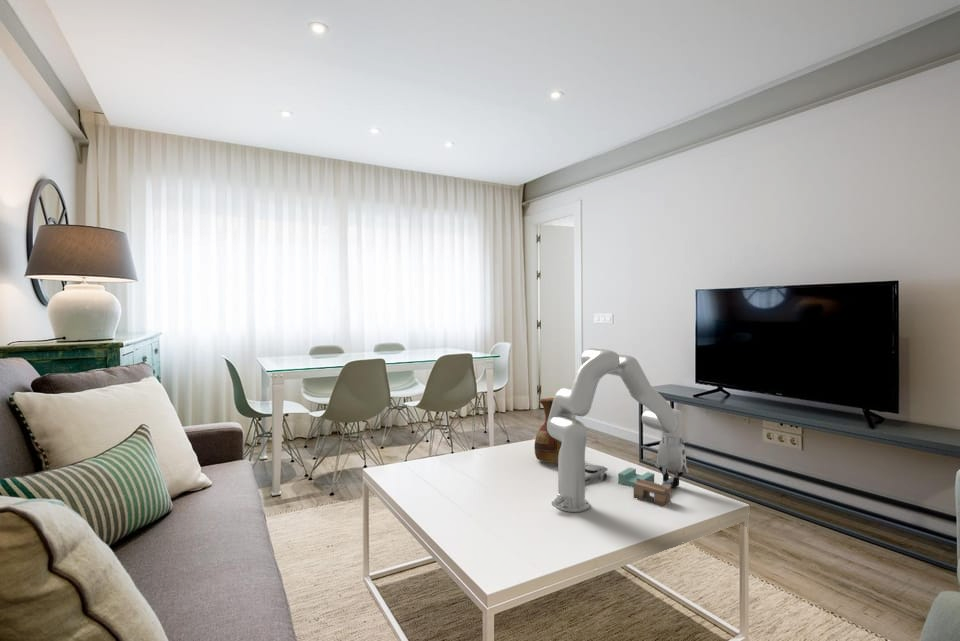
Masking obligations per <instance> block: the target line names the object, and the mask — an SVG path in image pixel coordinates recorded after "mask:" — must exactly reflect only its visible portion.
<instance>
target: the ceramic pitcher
mask: <svg viewBox="0 0 960 641" xmlns="http://www.w3.org/2000/svg"><path fill="white" fill-rule="evenodd" d="M553 400H554V397H547V398H540V399H539V400H538V402H539V403H540V404H541V405H542V408H543V411H544V415H545V416H544V423H542V425H541V426H540V427H539V429H538V431H537V433H536V436H535V440H534V455H535V458H536V459H537V460H539V461H540V462H544V463H551V464H558V455H559V450H560V448H561V444H562V442H561V441H559V440H557V439H555V438H553V437H551V436H550V435H549V433H548V431H547V421H548V417H549V414H550V410H551V407H552V403H553Z"/></svg>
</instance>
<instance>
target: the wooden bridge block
mask: <svg viewBox="0 0 960 641" xmlns="http://www.w3.org/2000/svg"><path fill="white" fill-rule="evenodd" d="M671 490H672V487H668V486H665V485H661V483H658V482H657V483H656V482H654V483H653V482H649V481H645V480H639V481H637V482H635V483H634V487H633V499H636V498H637V500H639V499H640V500H639V501H645V500H646V499H648V498H649V497H650V496H651V494H650V493H652V494H653V499H654V500H653V504H654V505H657V506H661V507H663V506H664V507H666V506H667V505H668V504H670V503H671V499H672V498H671V497H672V496H671V495H672V494H671V493H672V492H671ZM669 502H670V503H669ZM665 505H666V506H665Z"/></svg>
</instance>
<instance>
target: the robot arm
mask: <svg viewBox="0 0 960 641" xmlns="http://www.w3.org/2000/svg"><path fill="white" fill-rule="evenodd" d="M580 361H581V364H582V365H581V366H580V367H579V368H578V369H577V371H576V373H575V376H574V379H573V381H572V382H573V383H572V385H571V386H563V387H561V388H560V389H559V390H558V391H557V392H556V393H555V395H554V397H553V398H554V400H553V403H552V407H551V410H550V414H549V417H548V421H547V431H548V433H549V435H550V436H551V437H553V438H555V439H557V440H559V441H561V442H562V444H561V448H560V450H559V455H558V463H557V464H558V466H557V467H558V473H557V474H558V476H557V479H558V480H557V482H558V483H557V484H558V485H557V486H558V490H557V492H558V493H557V495H556V496H557V497H555V499H554V500H553V501H552V502H551V505H552V507H554V508H555V507H556V508H557V509H559V510H560V511H563V512H569V513H570V512H571V513H580V512H584V511H585V512H586V511H587V510H588V509H589V508H590V502H589V500H588V499H586V485H585V466H586V448H587V447H586V446H587V441H588V436H589V434H588V429H587V427H586V425H585V424H584V423H583V422H581V421H580V420H578V419H576V418H573V417H572V416H576V417H585V416H587V415H588V414H589V413H590V411H591V408H592V405H593V402H594V398H595V395H596V392H597V387H598V384H599V383H600V381H601V379H602V378H603V377H604V376H606V375H611V376H616V377H617V376H618V377H619V378H620V379H621V380H622V382H623V384H624V385H625V387H626V390H627V391H628V393H629V394H630V397H631V398H633V399H634V400H635V401H636V402H638V403H639V404H641V405H643V406H645V408H647V409H646V410H645V411H643V413H642V415H641V423H642V424H643V425H644V426H645V427H648V428H649V429H652V430H654V431H655V430H657V431H660V432H661V441H659V446H658V450H657V457H656V458H657V459H656V462H655V463H654V466H655V467H656V468H657V469H658V470H659V471H660V472H661V475H662V483H663V482H664V481H666V480H667V479H669V478H670V475H669V473H668V470H673V472H674V476H673V477H674V478H673V484H674V485H673V487H672V488H674V489H676V488H677V487H679V485H680V477H681V476H682V475H686V474H688V473H689V472H690V471H689V469H688V467H687V458H686V456H687V455H686V447H685V445H684V444H685V443H686V439H684V438H683V434H682V433H683V432H682V431H683V430H682V429H683V427H682V426H683V415H682V414H683V413H682V411H681V410H679V409H677V408H672V406H671V405H670V403H669V402H668V400H666V398H665V397H664V396H662V395H661V394H660V392H658V391H657V390H656V389H655V388H654V387H653V386H652V385H651V384H650V381H649V379H648V378H647V376H646V374H645V372H644V370H643V367H641V364H640V363H639V360H637V359H636V358H635V357H634V356H631V355H627V354H619V353H617V352H615V351H613V350H610V349H603V348H593V347H591V348H587V349H585V350H584V351H583V352H582V354H581V358H580Z"/></svg>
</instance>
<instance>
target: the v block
mask: <svg viewBox="0 0 960 641" xmlns="http://www.w3.org/2000/svg"><path fill="white" fill-rule="evenodd" d="M617 477H618V478H617V480H618V481H617V482H618V484H620V483H621V484H620V485H623V484H625V486H627V485H629V486H628V487H631V486H632V487H631V488H634V483H635V482H637V481H639V480H645V481H649V482H653V483H655V473H654V472H650V471H647V472H645V473H644V474H639V473H637V469H636V468H634V467H627V468H626V469H624V470H622V471H620V472H618V473H617Z"/></svg>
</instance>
